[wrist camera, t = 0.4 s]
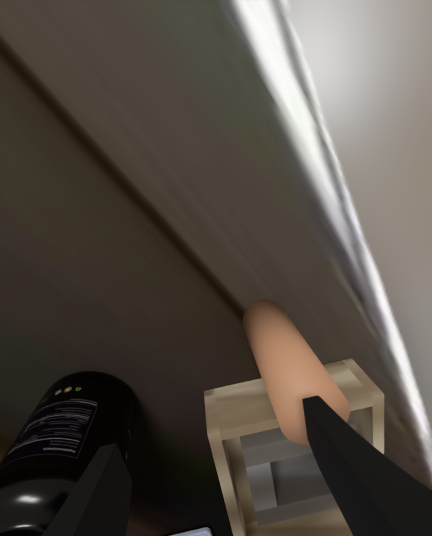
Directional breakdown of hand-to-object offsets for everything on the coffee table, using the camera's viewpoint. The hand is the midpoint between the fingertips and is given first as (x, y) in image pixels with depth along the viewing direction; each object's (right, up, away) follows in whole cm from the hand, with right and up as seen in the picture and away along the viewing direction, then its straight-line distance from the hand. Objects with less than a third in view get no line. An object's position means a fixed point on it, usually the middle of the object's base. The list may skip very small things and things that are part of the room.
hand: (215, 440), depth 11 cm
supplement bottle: (-9, -4, +11) cm, 15 cm away
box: (+6, -9, +14) cm, 18 cm away
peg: (+4, +3, +10) cm, 11 cm away
